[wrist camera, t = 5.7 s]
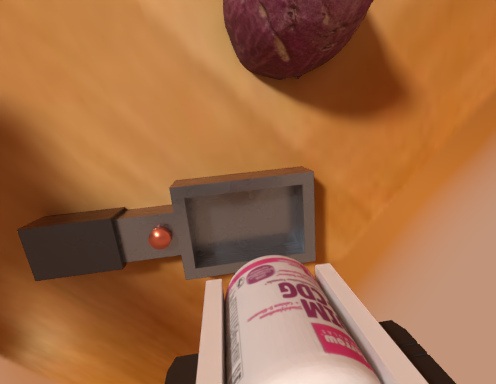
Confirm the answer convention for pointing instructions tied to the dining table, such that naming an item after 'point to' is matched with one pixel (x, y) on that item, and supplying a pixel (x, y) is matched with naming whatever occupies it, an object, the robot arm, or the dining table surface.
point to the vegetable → (290, 32)
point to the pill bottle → (286, 329)
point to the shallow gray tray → (185, 228)
